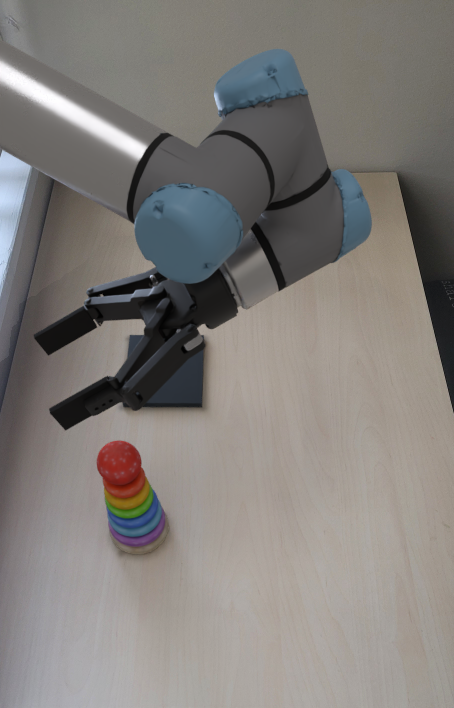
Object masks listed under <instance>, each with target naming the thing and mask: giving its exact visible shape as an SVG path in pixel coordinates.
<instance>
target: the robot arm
mask: <svg viewBox="0 0 454 708" xmlns="http://www.w3.org/2000/svg"><path fill="white" fill-rule="evenodd" d="M213 98H214V100H215V104H216V108H217V115H218V117H219V118H220V119H221V121H220V123H219V124H218V125H217V126H216V127H215V128H214V129H213V130H212V131H211V132H210V133H209V134H208V135H207V136H206V137H205V138H204V139H203V140H202V141H201V142H200V144H199V145H198V146H197V147H196V146H194V145H192V144H190V143H188V142H187V141H185V140H184V139H182V138H180V137H178V136H176V135H174V134H171V133H170V132H168V131H166V130H164V129H163V128H161V127H159V126H157V125H156V124H154V123H152V122H150V121H148V120H146V119H144V118H142V117H141V116H140V115H137V114H135V113H133V112H132V111H130V110H128V109H127V108H125V107H123V106H121V105H119V104H118V103H115V102H114V101H112V100H110V99H109V98H107V97H105V96H103V95H102V94H100V93H98V92H96V91H94V90H93V89H91V88H89V87H87V86H85V85H83V84H81V83H80V82H79V81H77V80H75V79H73V78H71V77H69V76H67V75H65V74H64V73H62V72H61V71H58V70H56V69H55V68H53V67H52V66H50V65H48V64H46V63H45V62H42V61H40V60H38V59H37V58H35V57H34V56H32V55H30V54H28V53H26V52H24V51H23V50H21V49H19V48H17V47H15V46H13V45H11V44H10V43H8V42H7V41H4V40H2V39H1V38H0V150H1V151H3V152H5V153H7V154H8V155H10V156H12V157H14V158H15V159H17V160H19V161H21V162H24V163H25V164H26V165H28V166H30V167H32V168H34V169H35V170H37V171H39V172H41V173H43V174H44V175H46V176H48V177H50V178H51V179H53V180H55V181H57V182H59V183H60V184H62V185H64V186H66V187H67V188H70V189H71V190H73V191H74V192H77V193H78V194H80V195H82V196H84V197H85V198H87V199H89V200H91V201H92V202H95V203H96V204H97V205H100V206H102V207H103V208H105V209H107V210H108V211H110V212H112V213H114V214H116V215H118V216H119V217H121V218H123V219H125V220H126V221H128V222H129V223H131V224H132V225H133V228H134V231H133V232H134V238H135V241H136V244H137V247H138V249H139V251H140V253H141V254H142V256H143V258H144V259H145V260H146V261H149V262H151V263H152V264H153V265H154V267H152V268H151V269H148V270H146V271H145V272H141V273H138V274H133V275H129V276H127V277H122V278H119V279H115V280H112V281H107V282H104V283H101V284H98V285H93V286H91V287H89V288H87V290H86V291H85V294H86V295H87V298H86V299H85V300H84V301H83V305H82V306H81V307H79V308H77V309H75V310H73V311H72V312H70V313H67V314H66V315H65V316H63V317H61V318H60V319H58V320H56V321H55V322H53V323H51V324H50V325H48V326H46V327H45V328H43V329H41V330H39V331H37V332H36V333H33V339H34V340H35V341H36V342H37V344H38V345H39V346H40V348H41V349H42V350H43V351H44V352H45V354H46V355H47V356H51V355H52V354H54V353H56V352H57V351H59V350H61V349H63V348H64V347H66V346H68V345H69V344H71V343H73V342H75V341H77V340H79V339H80V338H83V336H85V335H87V334H89V333H90V332H92V331H94V330H96V329H97V328H98V326H99V327H102V325H103V324H104V322H110V321H111V322H112V321H113V322H114V321H126V320H128V321H129V320H141V321H143V324H144V325H145V326H144V328H143V335H144V336H143V337H142V339H141V340H140V341H139V343H138V344H137V346H136V347H135V348H134V350H133V351H132V353H131V354H130V355H129V357H128V358H127V357H126V360H125V361H124V363H123V364H122V365H121V367H120V368H119V370H118V371H117V372H116V373H115V375H114V376H112V375H106V376H104V377H102V378H100V379H98V380H97V381H95V382H93V383H92V384H90V385H88V386H86V387H84V388H83V389H81V390H79V391H77V392H76V393H73V394H71V396H68V397H67V398H65V399H63V400H61V401H60V402H58V403H56V404H55V405H53V406H51V407H49V408H48V410H49V414H50V415H51V416H52V417H53V419H55V421H56V422H57V423H58V424H59V425H60V427H62V429H63V430H64V431H68V430H69V429H71V428H73V427H74V426H77V425H78V424H80V423H82V422H83V421H85V420H88V419H89V418H90V417H91V418H92V417H95V416H98V415H100V414H102V413H104V412H106V411H108V410H109V409H111V408H113V407H115V406H116V405H118V404H120V403H123V402H124V403H126V404H127V405H129V406H130V407H129V408H130V409H131V410H132V411H133V412H137V411H140V409H142V408H144V407H143V406H144V405H145V404H146V403H147V402H148V401H149V400H150V398H151V397H152V396H153V395H154V394H155V393H156V392H157V391H158V390H159V389H160V388H161V387H162V386H163V385H164V384H165V383H166V382H167V381H168V380H169V379H170V378H171V377H172V376H173V375H174V374H175V373H176V371H177V370H178V369H179V368H180V367H181V366H182V365H183V364H184V363H185V362H186V361H187V360H188V359H189V358H191V357H192V356H194V355H196V354H197V353H199V352H200V351H202V350H203V349H204V350H205V349H206V346H207V344H206V342H205V339H204V340H203V338H202V336H201V335H202V334H201V333H200V331H199V328H200V327H201V326H202V325H205V328H207V329H208V330H214V329H216V328H218V327H219V326H221V325H223V324H225V323H227V322H229V321H230V320H232V319H234V318H236V317H237V316H238V313H239V309H238V308H239V307H241V308H242V309H243V310H245V311H246V310H249V309H250V308H253V307H254V306H256V305H257V304H259V303H261V302H263V301H264V300H266V299H268V298H269V297H272V296H273V295H275V294H276V293H279V292H281V291H282V290H284V289H286V288H288V287H290V286H292V285H293V284H295V283H297V282H299V281H301V280H302V279H304V278H306V277H308V276H310V275H312V274H313V273H315V272H317V271H319V270H321V269H323V268H324V267H326V266H328V265H330V264H334V263H336V262H338V261H339V260H340V259H341V258H343V257H345V256H346V255H347V254H349V253H350V252H352V251H353V250H355V249H356V248H358V247H359V246H361V245H362V244H363V243H365V242H366V241H367V239H369V237H370V235H371V232H372V226H373V220H372V219H373V218H372V213H371V209H370V206H369V202H368V200H367V199H366V197H365V195H364V191H363V188H362V186H361V184H360V183H359V181H358V180H357V178H356V177H355V176H354V175H353V173H352V172H350V171H349V170H347V169H345V168H338V169H335V170H334V171H332V170H331V168H330V167H329V164H328V160H327V157H326V156H327V155H326V153H325V149H324V146H323V143H322V139H321V135H320V133H319V129H318V125H317V122H316V119H315V116H314V112H313V108H312V105H311V101H310V98H309V92H308V90H307V88H306V87H305V83H304V82H303V80H302V77H301V73H300V72H299V69H298V66H297V63H296V60H295V58H294V56H293V55H292V53H291V52H290V51H288V50H286V49H283V48H271V49H268V50H264V51H262V52H259V53H257V54H254V55H253V56H250V57H248V58H246V59H244V60H242V61H241V62H239V63H237V64H236V65H234V66H233V67H231V68H230V69H229V70H227V71H226V72H224V74H222V75H221V76H220V77H219V78H218V80H217V81H216V83H215V86H214V91H213ZM97 325H98V326H97ZM163 339H164V340H163ZM125 381H126V382H127V383H125ZM137 391H138V393H139V394H138V395H137V394H136V393H137Z"/></svg>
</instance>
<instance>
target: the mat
mask: <svg viewBox="0 0 454 708" xmlns="http://www.w3.org/2000/svg"><path fill="white" fill-rule="evenodd" d="M200 335H201V336H202V338H203V340H204V341H205V335H204V334H200ZM143 336H144V334H129V338H128V348H127V357H126V359H127V358H128V357H129V355H130V354H131V353H132V351H133V350H134V348H135V347H136V346H137V344H138V343H139V341H140V340H141V339H142V337H143ZM163 340H164V339H163ZM204 354H205V348H204V349H203V350H202V351H200V352H199V353H197V354H196V355H194V356H192V357H191V358H189V359H188V360H187V361H186V362H185V363H184V364H183V365H182V366H181V367H180V368H179V369H178V370H177V371H176V373H175V374H174V375H173V376H172V377H171V378H170V379H169V380H168V381H167V382H166V383H165V384H164V385H163V386H162V387H161V388H160V389H159V390H158V391H157V392H156V393H155V394H154V395H153V396H152V397H151V398H150V400H149V401H148V402H147V403H146V404H145V405H144V406H143V407H142V408H203V398H204V397H203V395H204V394H203V393H204V391H203V389H204V358H205V355H204ZM125 383H127V382H126V381H125ZM136 394H137V395H138V394H139V393H138V391H137V393H136ZM122 407H123V408H131V407H130V406H129V405H127V404H126V403H124V402H122Z"/></svg>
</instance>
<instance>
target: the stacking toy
mask: <svg viewBox="0 0 454 708" xmlns="http://www.w3.org/2000/svg"><path fill="white" fill-rule="evenodd" d="M142 465H143V464H142V456H141V453H140V452H139V450H138V449H137V447H136V446H134V445H133V444H132V443H130V442H128V441H126V440H113V441H109V442H108V443H105V445H103V446H102V447H101V449H99V451H98V453H97V456H96V469H97V471H98V473H99V476H101V478H102V485H103V495H104V503H105V506H106V512H107V513H106V515H107V525H108V530H109V536H110V538H111V541H112V542H113V544H114V545H115V546H116V547H117V548H118V549H120V550H121V551H122V552H125V553H128V554H132V555H143V554H148V553H150V552H153V551H155V550H156V549H157V548H158V547H160V546H161V545H162V544H163V542H164V541H165V540H166V538H167V536H168V533H169V527H170V525H169V519H168V515H167V513H166V512H165V511H164V508H163V506H162V504H161V501H160V499H159V497H158V495H157V492H156V491H155V490H154V489H153V487H152V485H151V483H150V481H149V479H148V477H147V476H146V472H145V470H144V468H143V467H142Z"/></svg>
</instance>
